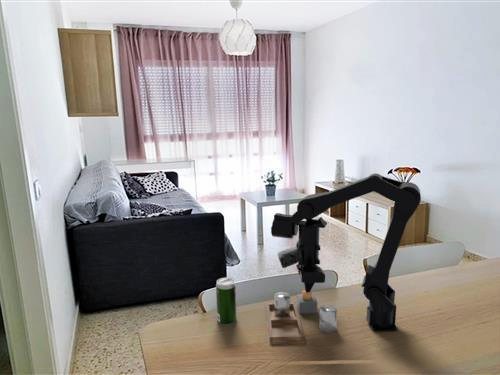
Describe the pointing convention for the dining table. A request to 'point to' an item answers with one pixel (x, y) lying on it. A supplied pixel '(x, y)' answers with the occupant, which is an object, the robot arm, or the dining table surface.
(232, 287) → the green soda can
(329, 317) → the billet
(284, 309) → the seated billet
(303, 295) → the button
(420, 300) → the dining table surface
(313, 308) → the grey square block
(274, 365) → the dining table surface
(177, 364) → the dining table surface
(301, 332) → the pallet
